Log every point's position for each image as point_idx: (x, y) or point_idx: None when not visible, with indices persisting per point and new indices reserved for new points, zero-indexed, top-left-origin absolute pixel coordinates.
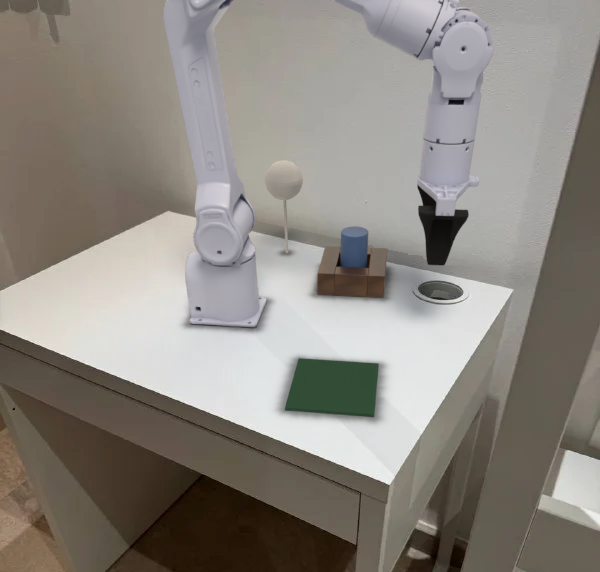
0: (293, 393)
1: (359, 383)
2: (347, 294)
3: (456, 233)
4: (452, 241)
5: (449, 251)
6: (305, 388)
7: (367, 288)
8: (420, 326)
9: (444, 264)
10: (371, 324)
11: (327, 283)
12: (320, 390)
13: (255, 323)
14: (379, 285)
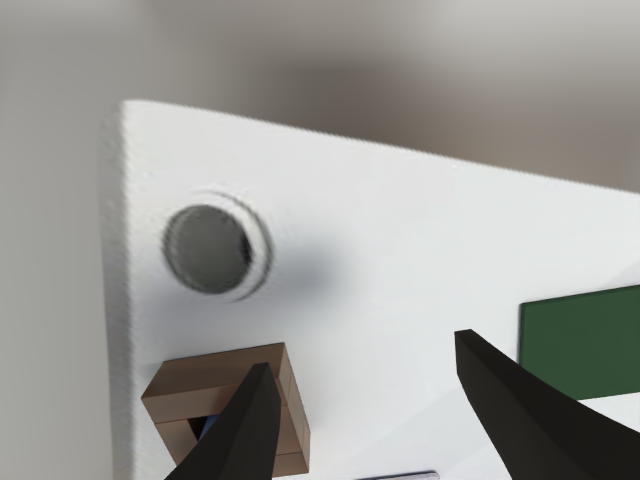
0: (614, 390)
1: (588, 320)
2: (299, 396)
3: (614, 421)
4: (555, 390)
5: (509, 358)
6: (602, 381)
7: (290, 380)
8: (372, 263)
9: (472, 330)
10: (386, 340)
11: (306, 440)
12: (608, 363)
13: (435, 477)
14: (284, 368)
